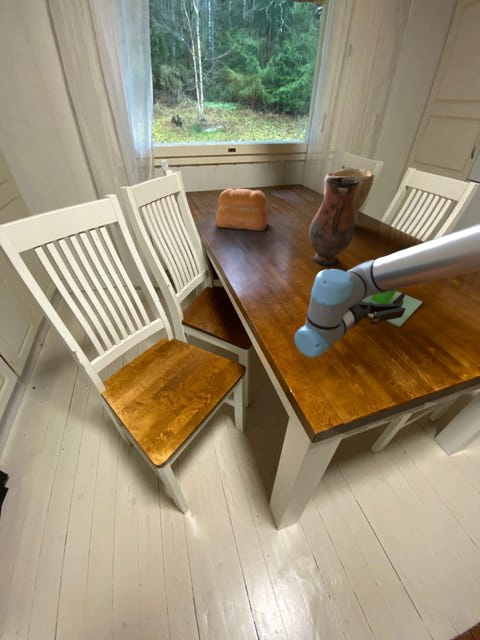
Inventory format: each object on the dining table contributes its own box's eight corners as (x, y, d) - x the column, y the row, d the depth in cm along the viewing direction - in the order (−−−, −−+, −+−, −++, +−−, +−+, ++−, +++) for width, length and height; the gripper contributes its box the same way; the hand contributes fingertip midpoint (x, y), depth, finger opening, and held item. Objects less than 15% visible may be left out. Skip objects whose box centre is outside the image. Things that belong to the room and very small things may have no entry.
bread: (221, 218, 151) (220, 184, 140) (268, 221, 147) (271, 187, 136) (213, 228, 139) (212, 192, 128) (264, 232, 135) (267, 195, 124)
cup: (365, 303, 87) (376, 273, 80) (366, 289, 93) (377, 260, 87) (396, 310, 84) (410, 279, 77) (395, 295, 91) (408, 265, 84)
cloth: (422, 303, 88) (422, 301, 88) (399, 327, 79) (400, 326, 78) (364, 279, 100) (364, 278, 99) (338, 298, 90) (338, 297, 90)
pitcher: (344, 252, 118) (364, 175, 99) (347, 276, 101) (373, 190, 83) (305, 248, 120) (318, 173, 102) (302, 271, 104) (317, 186, 85)
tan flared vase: (323, 214, 158) (332, 165, 142) (363, 220, 150) (378, 169, 134) (311, 226, 142) (321, 172, 127) (356, 234, 134) (372, 178, 118)
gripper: (299, 307, 79) (338, 282, 90) (384, 353, 64) (418, 316, 76) (303, 285, 74) (344, 261, 85) (396, 329, 60) (430, 293, 71)
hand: (379, 287), depth 81 cm, fingers open, 13 cm apart
